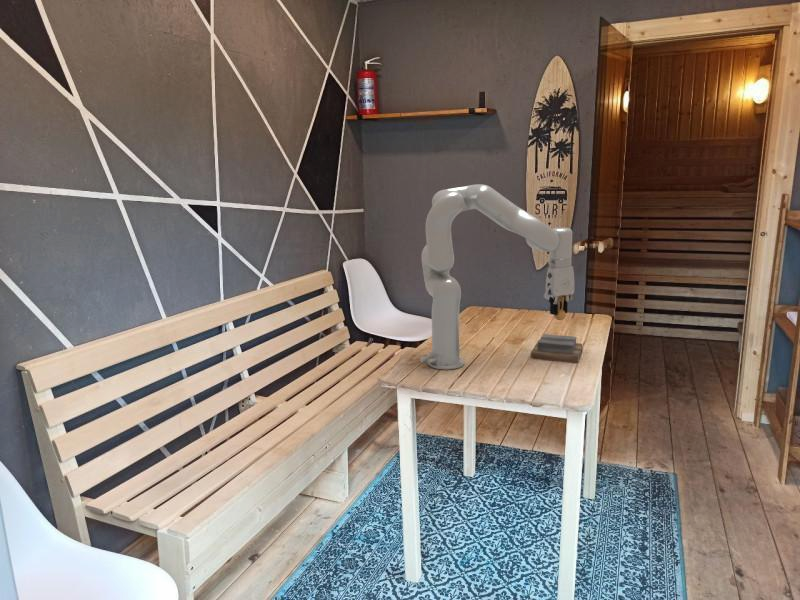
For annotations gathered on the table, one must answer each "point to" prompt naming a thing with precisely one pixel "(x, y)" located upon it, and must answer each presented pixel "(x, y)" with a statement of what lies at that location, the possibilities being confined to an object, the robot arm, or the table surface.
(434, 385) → the table surface
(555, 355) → the display stand
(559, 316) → the figurine
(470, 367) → the table surface
